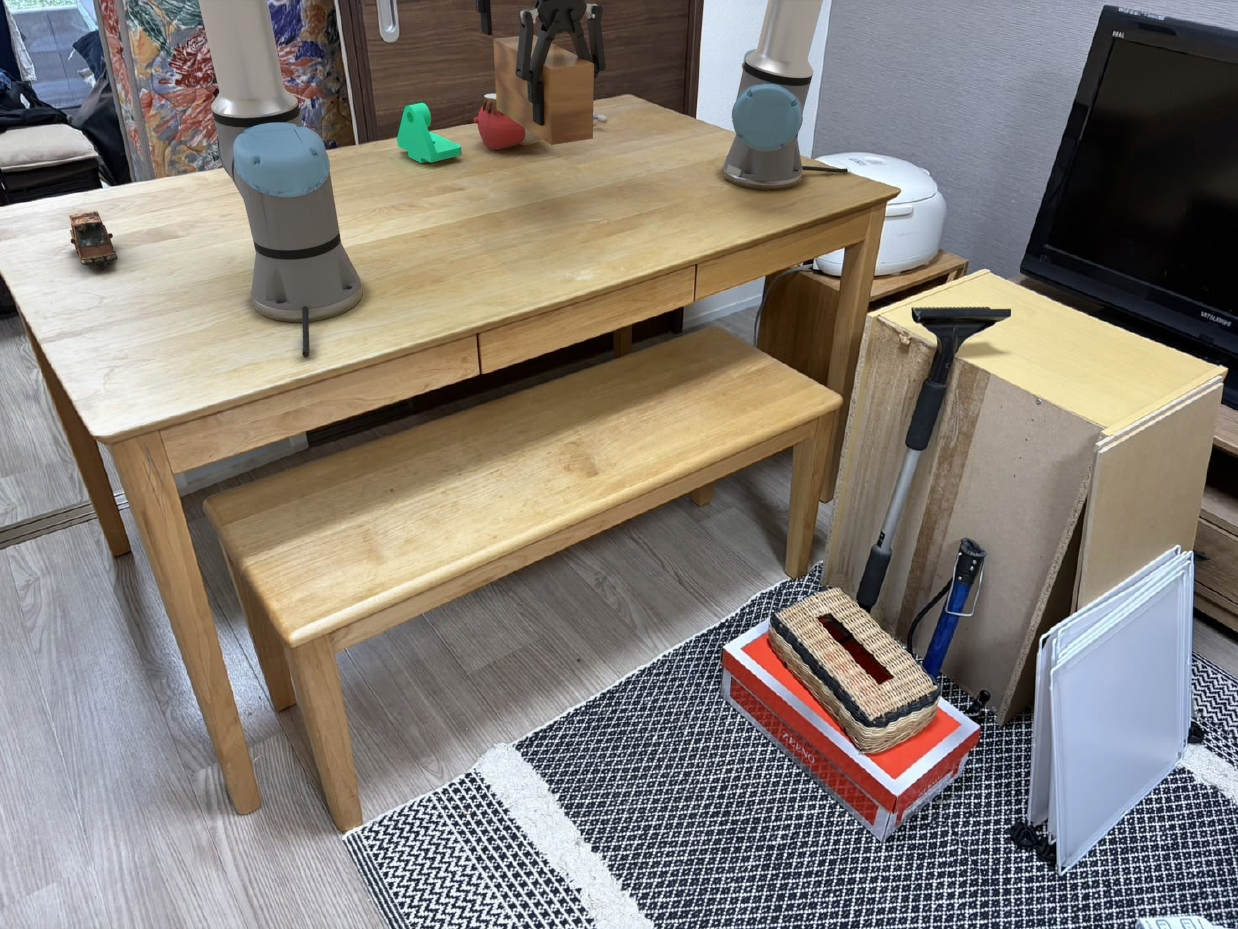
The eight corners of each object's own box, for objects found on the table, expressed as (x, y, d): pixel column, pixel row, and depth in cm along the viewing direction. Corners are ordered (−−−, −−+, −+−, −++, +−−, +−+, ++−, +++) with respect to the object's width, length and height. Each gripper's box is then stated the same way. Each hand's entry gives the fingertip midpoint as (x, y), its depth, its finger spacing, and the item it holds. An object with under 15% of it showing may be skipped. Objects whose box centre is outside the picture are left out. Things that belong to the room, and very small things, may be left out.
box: (593, 138, 154) (594, 63, 147) (551, 145, 150) (550, 68, 143) (535, 104, 168) (534, 34, 161) (496, 109, 165) (493, 38, 158)
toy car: (108, 240, 149) (95, 198, 145) (131, 265, 142) (117, 222, 137) (65, 249, 146) (50, 207, 141) (86, 276, 138) (71, 232, 134)
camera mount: (464, 159, 183) (460, 106, 177) (431, 168, 179) (426, 113, 173) (430, 144, 190) (425, 92, 184) (398, 151, 186) (392, 98, 180)
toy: (626, 100, 192) (495, 101, 177) (622, 150, 197) (495, 156, 182) (581, 87, 205) (455, 87, 190) (578, 134, 210) (456, 138, 195)
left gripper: (607, -43, 146) (604, 106, 160) (487, -36, 138) (495, 121, 151) (631, -35, 141) (626, 118, 155) (508, -27, 133) (514, 134, 146)
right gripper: (574, -120, 155) (576, 18, 167) (434, -115, 144) (447, 32, 157) (596, -116, 150) (596, 26, 162) (452, -110, 139) (464, 41, 152)
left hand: (561, 119), depth 153 cm, fingers closed on box, 8 cm apart
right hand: (523, 29), depth 160 cm, fingers open, 13 cm apart
